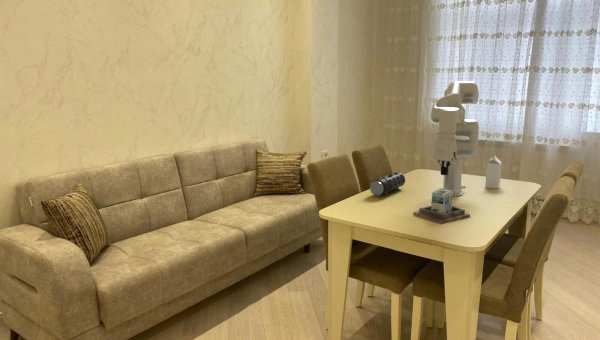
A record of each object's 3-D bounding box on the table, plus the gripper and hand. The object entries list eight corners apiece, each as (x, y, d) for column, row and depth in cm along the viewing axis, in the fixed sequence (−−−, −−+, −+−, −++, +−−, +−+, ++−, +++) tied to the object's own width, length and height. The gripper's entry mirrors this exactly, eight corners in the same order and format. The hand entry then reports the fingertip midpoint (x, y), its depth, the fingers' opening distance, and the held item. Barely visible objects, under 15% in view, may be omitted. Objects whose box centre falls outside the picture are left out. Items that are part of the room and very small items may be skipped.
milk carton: (499, 186, 266) (502, 155, 263) (497, 189, 261) (500, 157, 257) (487, 185, 270) (489, 154, 266) (485, 187, 264) (487, 156, 260)
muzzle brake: (405, 189, 261) (406, 172, 259) (383, 199, 240) (384, 181, 237) (390, 187, 267) (391, 170, 265) (368, 197, 245) (368, 179, 243)
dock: (441, 208, 222) (442, 201, 222) (470, 217, 208) (470, 210, 207) (413, 214, 212) (413, 208, 212) (441, 224, 198) (441, 217, 197)
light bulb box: (444, 216, 204) (445, 194, 202) (430, 214, 208) (431, 192, 206) (452, 211, 212) (453, 189, 210) (438, 209, 217) (439, 187, 214)
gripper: (428, 134, 207) (426, 172, 211) (454, 138, 194) (451, 178, 198) (439, 133, 210) (437, 170, 214) (465, 137, 198) (462, 176, 202)
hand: (444, 174), depth 206 cm, fingers closed
